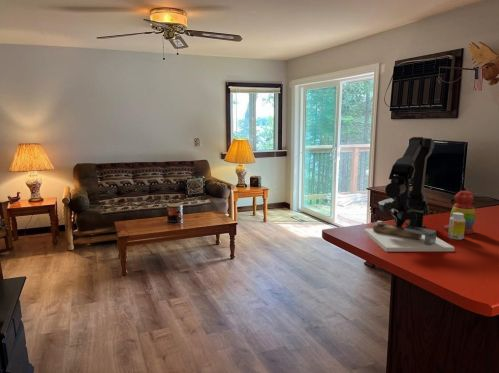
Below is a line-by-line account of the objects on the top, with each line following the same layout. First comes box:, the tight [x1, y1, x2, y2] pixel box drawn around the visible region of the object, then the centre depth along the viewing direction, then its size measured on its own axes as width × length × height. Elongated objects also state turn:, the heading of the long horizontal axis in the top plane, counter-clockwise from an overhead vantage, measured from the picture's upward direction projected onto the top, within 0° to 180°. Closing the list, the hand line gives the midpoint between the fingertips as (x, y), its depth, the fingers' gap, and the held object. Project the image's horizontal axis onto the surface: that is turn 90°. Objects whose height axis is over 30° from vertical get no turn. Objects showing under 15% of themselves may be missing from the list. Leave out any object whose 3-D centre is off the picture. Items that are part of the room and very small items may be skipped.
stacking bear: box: [443, 190, 477, 235], centre depth 158 cm, size 11×10×18 cm
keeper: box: [404, 225, 438, 246], centre depth 140 cm, size 10×5×5 cm, turn 41°
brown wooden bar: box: [372, 222, 422, 239], centre depth 148 cm, size 18×5×2 cm, turn 50°
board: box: [363, 220, 455, 252], centre depth 145 cm, size 24×25×6 cm
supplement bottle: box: [447, 212, 465, 240], centre depth 149 cm, size 6×6×10 cm
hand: (397, 230), depth 151 cm, fingers closed
